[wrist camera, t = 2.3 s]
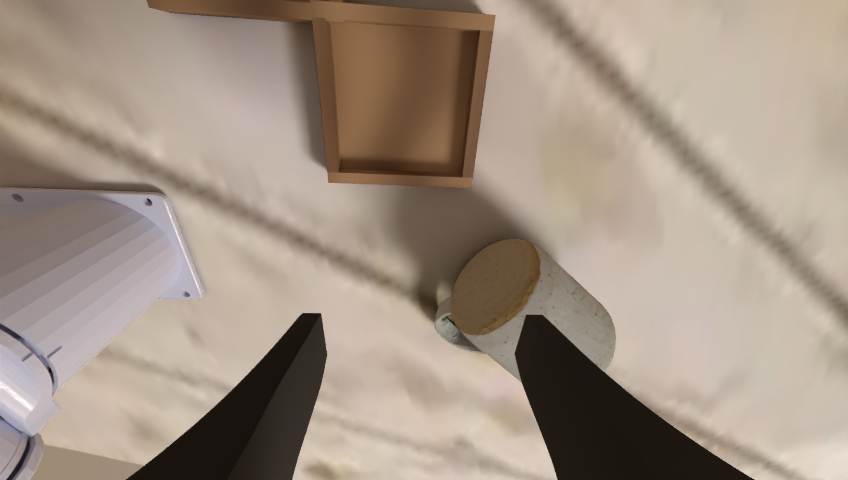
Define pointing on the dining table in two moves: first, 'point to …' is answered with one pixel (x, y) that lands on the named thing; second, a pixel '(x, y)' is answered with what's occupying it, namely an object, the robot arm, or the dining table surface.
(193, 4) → the tray
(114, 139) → the dining table surface
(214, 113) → the dining table surface
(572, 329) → the ceramic mug
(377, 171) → the tray
